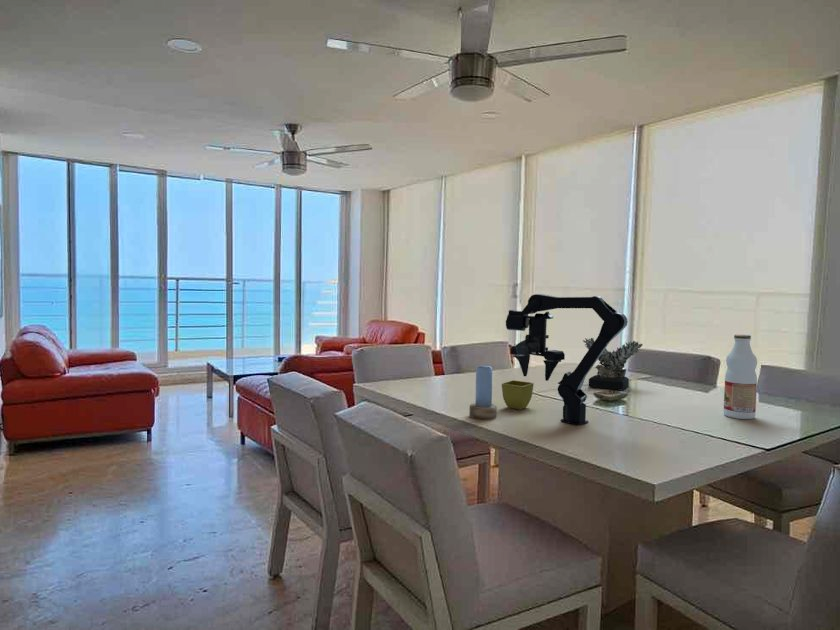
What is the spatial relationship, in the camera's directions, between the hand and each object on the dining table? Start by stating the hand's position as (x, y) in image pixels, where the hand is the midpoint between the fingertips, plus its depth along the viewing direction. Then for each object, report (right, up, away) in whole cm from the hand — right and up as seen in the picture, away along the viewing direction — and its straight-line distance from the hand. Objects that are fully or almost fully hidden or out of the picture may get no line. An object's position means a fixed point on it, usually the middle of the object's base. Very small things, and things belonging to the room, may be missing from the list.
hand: (535, 378), depth 179 cm
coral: (+46, -11, +58) cm, 75 cm away
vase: (-17, -9, 0) cm, 20 cm away
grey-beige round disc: (-18, -13, +1) cm, 22 cm away
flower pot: (-4, -13, +14) cm, 19 cm away
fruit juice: (+71, -14, +4) cm, 72 cm away
